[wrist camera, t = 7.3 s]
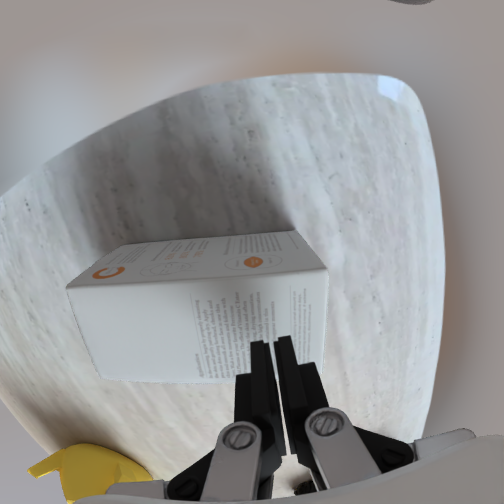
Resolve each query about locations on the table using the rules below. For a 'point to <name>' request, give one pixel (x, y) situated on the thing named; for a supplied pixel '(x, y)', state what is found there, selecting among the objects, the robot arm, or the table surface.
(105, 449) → the teapot
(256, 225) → the table surface
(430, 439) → the robot arm
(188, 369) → the small box
